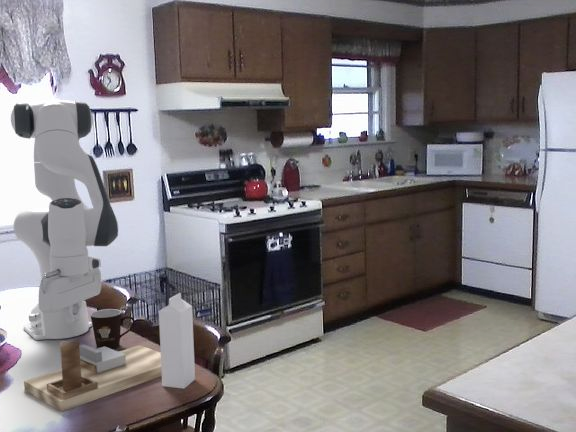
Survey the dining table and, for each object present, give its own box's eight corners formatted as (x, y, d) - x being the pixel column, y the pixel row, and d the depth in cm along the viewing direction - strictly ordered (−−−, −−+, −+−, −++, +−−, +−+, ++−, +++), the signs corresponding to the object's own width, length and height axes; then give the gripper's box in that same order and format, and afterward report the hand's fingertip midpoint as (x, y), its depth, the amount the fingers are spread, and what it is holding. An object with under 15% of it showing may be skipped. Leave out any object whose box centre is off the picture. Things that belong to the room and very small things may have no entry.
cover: (77, 363, 162) (76, 345, 161) (105, 355, 167) (104, 337, 167) (97, 373, 155) (96, 353, 154) (126, 363, 161) (124, 345, 160)
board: (24, 390, 152) (23, 374, 151) (140, 353, 176) (139, 339, 175) (61, 411, 140) (60, 394, 139) (180, 369, 164) (180, 354, 163)
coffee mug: (86, 350, 180) (84, 316, 178) (104, 340, 188) (102, 308, 186) (120, 354, 176) (118, 319, 174) (138, 344, 184) (136, 311, 182)
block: (63, 394, 143) (60, 347, 142) (63, 387, 147) (59, 342, 145) (82, 391, 145) (79, 344, 143) (81, 384, 148) (78, 339, 147)
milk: (162, 386, 153) (157, 298, 150) (174, 377, 158) (169, 291, 156) (184, 389, 151) (179, 299, 148) (196, 379, 157) (191, 293, 154)
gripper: (53, 275, 142) (56, 334, 143) (104, 258, 161) (107, 311, 163) (29, 274, 143) (33, 333, 145) (83, 258, 163) (86, 310, 164)
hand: (72, 321), depth 154 cm, fingers closed
